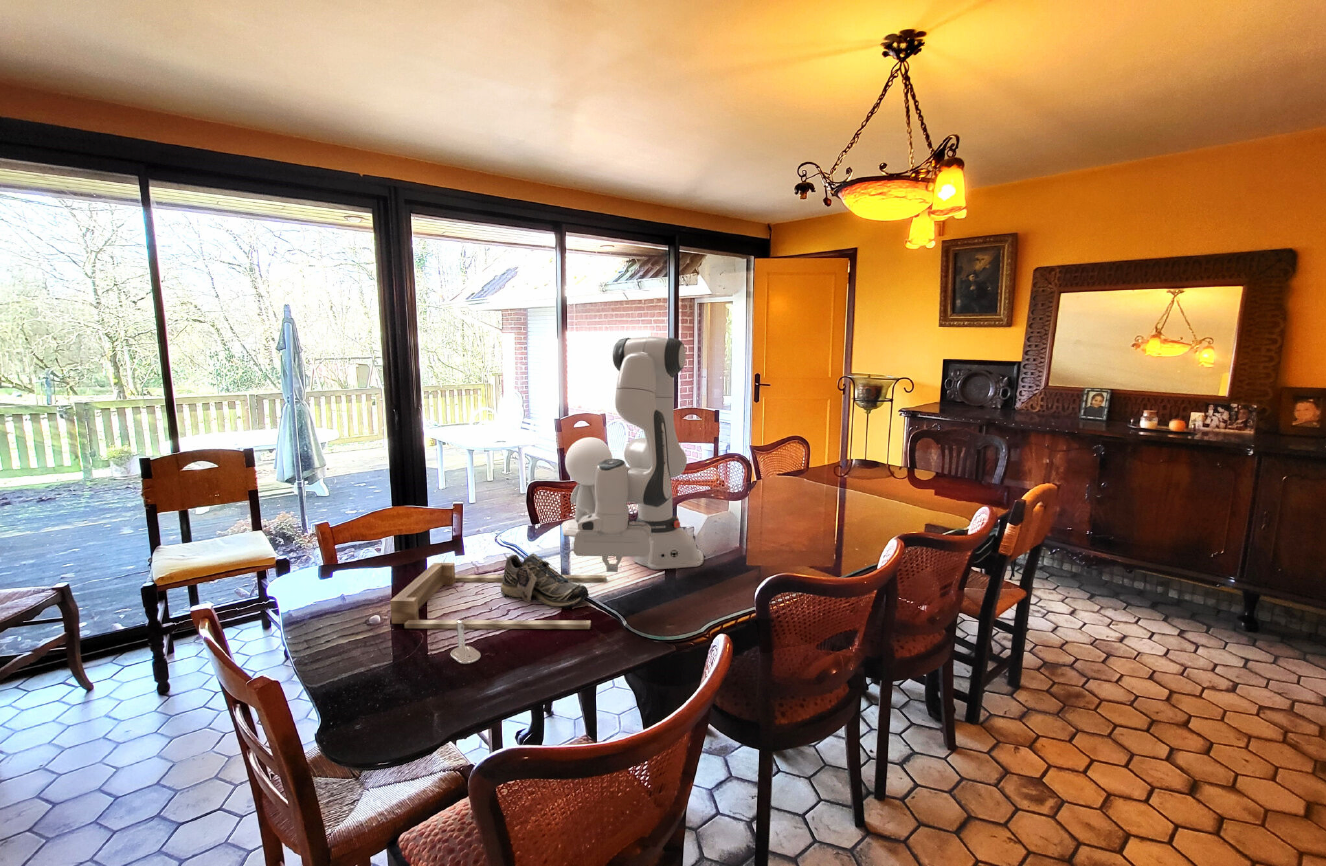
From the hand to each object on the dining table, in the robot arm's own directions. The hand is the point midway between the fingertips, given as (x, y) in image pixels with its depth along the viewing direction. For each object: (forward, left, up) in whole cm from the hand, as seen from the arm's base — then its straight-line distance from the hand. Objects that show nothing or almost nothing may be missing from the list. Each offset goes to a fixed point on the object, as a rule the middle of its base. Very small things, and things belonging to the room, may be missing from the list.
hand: (612, 571), depth 155 cm
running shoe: (+20, -3, -9) cm, 22 cm away
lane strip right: (+27, -15, -9) cm, 32 cm away
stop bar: (+51, 0, -9) cm, 52 cm away
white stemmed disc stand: (+30, +28, -9) cm, 42 cm away
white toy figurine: (+17, -65, -9) cm, 68 cm away
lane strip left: (+27, +14, -9) cm, 32 cm away
